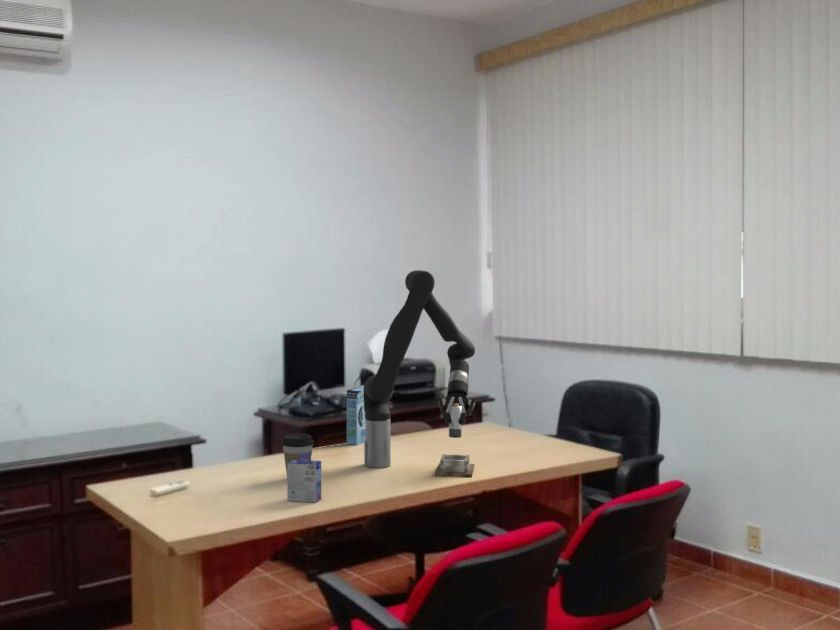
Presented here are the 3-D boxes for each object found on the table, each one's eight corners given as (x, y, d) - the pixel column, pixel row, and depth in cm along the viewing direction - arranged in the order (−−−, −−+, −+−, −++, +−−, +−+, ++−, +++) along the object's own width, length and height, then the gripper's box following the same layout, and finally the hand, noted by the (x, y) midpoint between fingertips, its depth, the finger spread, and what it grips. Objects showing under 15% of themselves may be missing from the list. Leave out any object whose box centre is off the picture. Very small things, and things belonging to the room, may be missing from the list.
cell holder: (434, 476, 301) (434, 461, 301) (439, 465, 317) (439, 452, 317) (471, 477, 300) (471, 462, 300) (474, 466, 316) (474, 453, 316)
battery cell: (448, 437, 306) (448, 404, 305) (449, 435, 310) (449, 402, 310) (460, 438, 305) (461, 405, 305) (461, 435, 310) (462, 403, 309)
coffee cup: (305, 484, 290) (304, 440, 289) (275, 481, 294) (274, 438, 293) (320, 476, 300) (320, 434, 300) (291, 474, 304) (291, 432, 304)
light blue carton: (364, 436, 374) (364, 384, 373) (375, 436, 373) (374, 384, 372) (346, 444, 356) (345, 389, 355) (357, 445, 354) (357, 390, 353)
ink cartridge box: (322, 498, 272) (322, 453, 271) (316, 503, 266) (316, 457, 266) (292, 496, 274) (292, 451, 273) (286, 501, 268) (286, 455, 268)
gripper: (438, 378, 315) (434, 416, 304) (477, 379, 313) (474, 418, 302) (439, 391, 321) (435, 428, 309) (477, 392, 319) (475, 430, 307)
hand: (454, 423), depth 306 cm, fingers closed on battery cell, 4 cm apart
